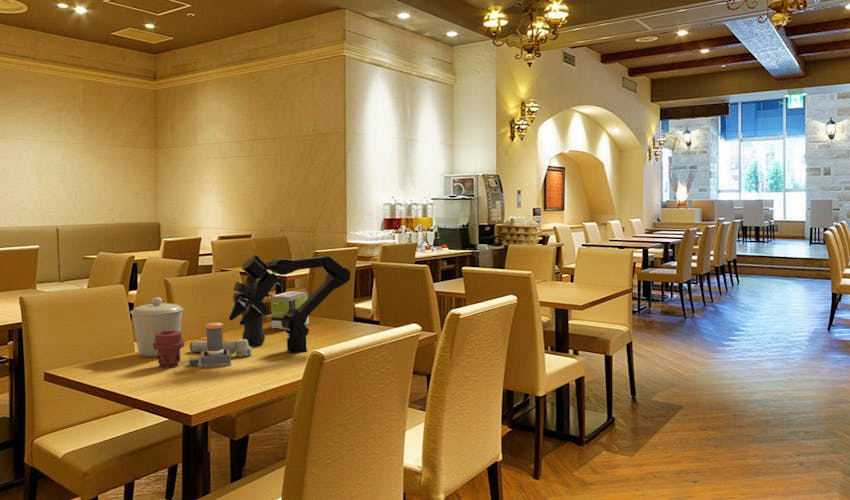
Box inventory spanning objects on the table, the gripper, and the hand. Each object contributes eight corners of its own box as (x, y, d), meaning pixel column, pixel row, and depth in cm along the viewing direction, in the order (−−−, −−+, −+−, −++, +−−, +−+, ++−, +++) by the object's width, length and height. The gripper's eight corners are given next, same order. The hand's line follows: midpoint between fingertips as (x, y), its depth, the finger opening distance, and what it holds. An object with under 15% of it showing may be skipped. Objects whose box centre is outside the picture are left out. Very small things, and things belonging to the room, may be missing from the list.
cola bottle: (238, 346, 256) (235, 268, 254) (251, 341, 264) (249, 266, 261) (256, 347, 253) (254, 269, 250) (269, 343, 260) (267, 267, 258)
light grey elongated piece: (197, 340, 250) (252, 335, 241) (199, 357, 250) (255, 353, 241) (187, 343, 245) (244, 338, 236) (190, 360, 245) (246, 356, 236)
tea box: (290, 322, 304) (290, 290, 303) (309, 324, 300) (308, 291, 299) (270, 328, 291) (270, 295, 290) (290, 330, 287) (289, 296, 286)
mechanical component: (167, 361, 232) (191, 363, 229) (147, 368, 223) (171, 370, 220) (166, 326, 231) (190, 328, 228) (145, 332, 222) (170, 334, 219)
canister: (173, 346, 256) (171, 292, 255) (193, 354, 243) (191, 297, 241) (124, 354, 244) (122, 297, 242) (142, 362, 231) (140, 302, 229)
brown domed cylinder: (227, 358, 231) (225, 322, 230) (219, 362, 226) (217, 325, 225) (212, 358, 232) (210, 322, 231) (204, 362, 227) (202, 325, 226)
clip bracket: (230, 358, 236) (230, 349, 235) (231, 365, 226) (230, 355, 226) (190, 361, 232) (190, 351, 231) (189, 368, 222) (188, 358, 222)
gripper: (236, 270, 241) (208, 304, 236) (258, 276, 226) (229, 313, 221) (258, 288, 247) (230, 322, 241) (280, 296, 232) (252, 332, 227)
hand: (235, 322), depth 233 cm, fingers open, 9 cm apart
